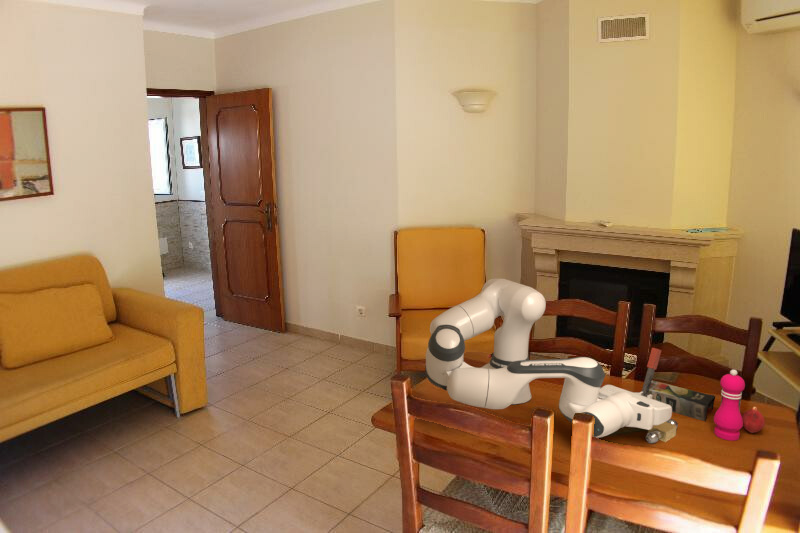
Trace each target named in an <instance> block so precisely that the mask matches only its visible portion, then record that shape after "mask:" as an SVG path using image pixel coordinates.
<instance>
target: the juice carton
mask: <svg viewBox="0 0 800 533" xmlns="http://www.w3.org/2000/svg"><path fill="white" fill-rule="evenodd" d="M648 394H651V395H652V399H653V400H656V401H659V402H662V403H665V404H668V405H670V406H671V407H672V414H673V413H674V414H677V415H681V416H684V417H689V418H692V419H695V420H699V421H702V422H706V421H707V416H708V410H709V409H710V410H709V411H710V412H711V411H713V409H714V405H715V401H716V400H715V399H716V396H715V395H713V394H708V393H705V392H699V391H696V390H693V389H688V388H684V387H681V386H680V387H679V386H677V385H672V384H669V383H666V382H665V383H664V382H660V381H657V380H652V381H651V385H650V389H649V392H648Z"/></svg>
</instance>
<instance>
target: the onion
mask: <svg viewBox="0 0 800 533" xmlns="http://www.w3.org/2000/svg"><path fill="white" fill-rule="evenodd" d="M741 416H742V419H743V428H744V430H746V431H748V432H749V433H751V434H754V433H758V432H760V431H761V430H762V429H764V427H765V426H766V420H765V417H764V415H763V414H762V413H761V412H760V411H759V410H758V407H756V406H752V408H750V409H748V410H746V411H744V412H743V413H742V414H741Z"/></svg>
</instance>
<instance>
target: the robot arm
mask: <svg viewBox="0 0 800 533" xmlns="http://www.w3.org/2000/svg"><path fill="white" fill-rule="evenodd" d="M546 301H547V300H546V299H545V297H544V295H543V294H542V293H541V292H539V291H538V290H537V289H536V288H534V287H531V286H528V285H525V284H522V283H519V282H515V281H513V280H509V279H507V278H491V279H488V280H487V281H485V283H484V284H483V286H482V288H481V292H480V293H478V294H477V295H475V296H474V297H472V298H469V299H468V300H466V301H463V302H461V303H460V304H457V305H454V306H453V307H450V308H449V309H447V310H445V311H443V312H442V313H440V314H439V315H437V316H436V317H435V318H433V319H432V321H431V322H430V325H429V332H430V337H429V339H428V343H427V348H426V352H425V367H424V369H425V370H424V371H425V375H426V379H427V380H428V381H429V383H430V384H432V385H433V386H435V387H437V388H439V389H442V390H444V391H447V393H448V395H449V397H450V398H451V399H452V400H454V401H456V402H458V403H461V404H464V405H469V406H472V407H478V408H484V409H489V410H504V409H506V408H508V407H510V405H518V404H519V405H520V404H524V403H527V402H529V401H530V400H531V399H532V393H531V389H530V383H531V382H532V381H534V380H538V379H564V381H563V385H562V386H563V387H562V390H561V393H560V398H559V402H558V409H559V410H560V413H561V414H562V415H563V416H564V417H565V419H567V420H568V421H569V422H570V423H572V419H573V416H574V414H575V413H585V414H589V415H592V416H594V418H595V424H594V437H596V438H603V437H606V436H609V435H611V434H613V433H615V432H617V431H618V430H619V429H621V428H624V427H628V428H638V429H643V430H647V431H648V430H650V429H652V427H653V425H660V424H662V423H664V422H666V421H668V420H669V419H672V415H673V412H672V407H671V406H670V405H668V404H665V403H662V402H659V401H656V400H653V399H652V395H651V394H648V393H645V392H642V391H640V392H633V391H630V390H627V389H624V388H621V387H617V386H615V385H612V384H605V385H603V383H604V380H605V377H606V373H605V371H604V368H603V367H602V365H601V364H600V363H599V362H598V360H596V359H594V358H592V357H587V356H576V357H570V358H552V359H551V358H550V359H549V358H547V359H546V358H545V359H530V356H529V344H530V343H529V342H530V340H529V339H530V334H531V330H532V327H533V325H534V324H535V322H536V321H538V320H539V319H541V317H543V315H544V314H545V310H546V307H547V306H546V304H547V302H546ZM500 316H504V317H503V322H502V324H501V326H500V327H498V328H497V329H496V330H495V331H494V335H493V336H494V337H493V338H494V340H493V341H494V342H493V352H492V353H490V354H487V359H489V362H487V363H486V364H484V365H483V366H481V367H475V366H471V365H470V364H468V363H466V362H465V361H464V355H465V351H466V342H465V341H467V340H470V339H472V338H474V337H476V336H478V335H480V334H482V333H484V332H486V331H489V330H490V329H492V327H493V326H494V324H495V320H496V318H498V317H500ZM602 385H603V386H602Z"/></svg>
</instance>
